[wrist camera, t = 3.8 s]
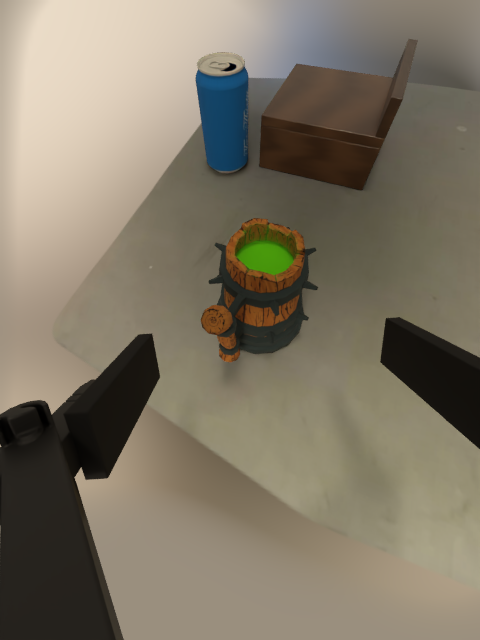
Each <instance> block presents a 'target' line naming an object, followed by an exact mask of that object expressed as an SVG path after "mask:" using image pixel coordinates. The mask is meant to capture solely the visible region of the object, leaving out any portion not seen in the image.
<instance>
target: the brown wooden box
mask: <svg viewBox="0 0 480 640" xmlns="http://www.w3.org/2000/svg"><path fill="white" fill-rule="evenodd" d="M417 42H418V41H417V40H412V39H409V40H408V42H407V44H406V47H405V49H404V52H403V54H402V57H401V59H400V62H399V64H398V67H397V69H396V72H395V74H394V77H393V78H390V77H383V76H377V75H370V74H363V73H356V72H349V71H342V70H335V69H329V68H322V67H315V66H308V65H302V64H296V65H295V67H294V68H293V70H292V71H291V73H290V74H289V76H288V77H287V79H286V80H285V82H284V83H283V85H282V86H281V88H280V89H279V90H278V92H277V93H276V95H275V96H274V98H273V99H272V101H271V102H270V104H269V105H268V107H267V108H266V110H265V111H264V113H263V114H262V119H261V141H260V164H259V166H260V167H264V168H268V169H273V170H277V171H281V172H286V173H290V174H294V175H299V176H303V177H307V178H312V179H316V180H320V181H325V182H329V183H333V184H338V185H342V186H346V187H351V188H355V189H359V190H362V189H363V186H364V184H365V182H366V180H367V178H368V175H369V173H370V171H371V169H372V166H373V164H374V162H375V160H376V158H377V155H378V153H379V151H380V148H381V146H382V144H383V142H384V140H385V138H386V135H387V133H388V131H389V129H390V126H391V124H392V122H393V120H394V117H395V115H396V113H397V111H398V109H399V106H400V104H401V102H402V100H403V96H404V92H405V88H406V85H407V80H408V77H409V73H410V69H411V65H412V61H413V57H414V53H415V50H416V45H417Z"/></svg>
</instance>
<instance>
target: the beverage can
mask: <svg viewBox="0 0 480 640" xmlns="http://www.w3.org/2000/svg"><path fill="white" fill-rule="evenodd" d="M244 65H245V61H244V59H243V58H242V57H241V56H239V55H237V54H233V53H225V52H224V53H223V52H222V53H213V54H209V55H206V56H204V57H202V58H201V59H200V60H199V61H198V63H197V66H198V71H197V74H196V86H197V93H198V100H199V107H200V114H201V121H202V129H203V136H204V143H205V150H206V157H207V163H208V164H209V166H210V167H211V168H213V169H215V170H216V171H218V172H221V173H233V172H236V171H238V170H239V169H241V168H242V167H243V166H244V165H245V164H246V163H247V161H248V73H247V70H246V69H245V67H244Z"/></svg>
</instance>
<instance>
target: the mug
mask: <svg viewBox="0 0 480 640" xmlns="http://www.w3.org/2000/svg"><path fill="white" fill-rule="evenodd" d="M215 246H216V247H217V248H218V249H220V250H221V251H222V254H221V261H220V268H219V275H218V276H217V277H216V278H214V279H211V280H209V284H215V283H223V284H222V290H221V296H220V299H219V301H218V303H217V305H212V306H210V307H209V308H207V309H206V310H205V311H204V313H203V315H202V318H201V323H202V327H203V328H204V329H205V330H206V331H207V332H208V333H209V334H215V335H217V338H218V340H219V342H220V344H219V347H220V349H219V355H220V357H221V358H222V359H223V360H224V361H226V362H233V361H235V360H237V359H238V357H239V355H240V349H241V350H244V351H247V352H251V353H254V354H259V353H273V352H275V351H277V350H279V349H281V348H283V347H285V346H287V345H289V343H290V342H291V341H292V340H293V339H294V337H295V336H296V335H297V334H298V333H299V330H300V327H301V324H302V320H308V318H309V317H307V316H305V315H304V312H303V307H302V289H303V288H307V289H313V290H317V288H318V287H317V286H315V285H313V284H312V283H310V282H308V281H307V280H308V273H309V270H308V255H310V254H311V253H313V252H315V251H316V248H311V249H306V250H305V246H304V240H303V237H302V236H301V235H300V234H299V233H298V232H297V231H296V230H294V231H291V230H290V228H289V227H287V228H286V227H284V226H282V225H277V224H273V223H268V219H259V218H253V219H251V220H249V221H247V222H245V223H242V227H241V229H240V230H239V231H237V232H236V233H235V234H234V235H233V236H232V237H231V238H230V241H229V243H228V245H227V246H225V245H222V244H218V243H216V244H215Z"/></svg>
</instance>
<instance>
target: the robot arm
mask: <svg viewBox="0 0 480 640" xmlns="http://www.w3.org/2000/svg"><path fill="white" fill-rule="evenodd" d="M380 362H381V363H382V364H383V365H384V366H385V367H386V368H388V369H389V370H390V371H391V372H392V373H393V374H394V375H396V376H397V377H398V378H399V379H400V380H401V381H402V382H404V383H405V384H406V385H407V386H408V387H409V388H410V389H412V390H413V391H414V392H415V393H416V394H417V395H418V396H420V397H421V398H422V399H423V400H424V401H425V402H426V403H428V404H429V405H430V406H431V407H432V408H433V409H434V410H436V411H437V412H438V413H439V414H440V415H441V416H442V417H444V418H445V419H446V420H447V421H448V422H449V423H450V424H452V425H453V426H454V427H455V428H456V429H457V430H458V431H460V432H461V433H462V434H463V435H464V436H465V437H466V438H468V439H469V440H470V441H471V442H472V443H473V444H474V445H476V446H477V447H478V448H479V449H480V358H479V357H477V356H475V355H473V354H471V353H469V352H467V351H465V350H463V349H461V348H459V347H457V346H455V345H453V344H451V343H449V342H447V341H445V340H444V339H442V338H440V337H438V336H436V335H434V334H432V333H430V332H428V331H426V330H424V329H422V328H420V327H418V326H416V325H414V324H412V323H410V322H408V321H406V320H404V319H402V318H400V317H398V318H386V322H385V330H384V337H383V345H382V353H381V361H380ZM159 378H160V374H159V368H158V363H157V358H156V352H155V347H154V341H153V336H152V334H140V335H138V336H137V337H136V338H135V339H134V340H133V341H132V342H131V343H130V344H129V345H128V346H127V347H126V348H125V349H124V350H123V351H122V352H121V353H120V355H119V356H118V357H117V358H116V359H115V360H114V361H113V362H112V363H111V364H110V365H109V366H108V367H107V368H106V369H105V370H104V371H103V373H102V374H101V375H100V376H99V377H98V378H97V379H96V380H90V381H89V382H87V383H85V384H84V385H82V386H80V387H79V389H77V390H76V391H75V392H74V393H73V395H72V396H70V397H69V398H68V399H67V400H66V402H64V403H63V404H62V405H61V406H60V407H59V408H58V409H57V410H56V411H55V412H54V413H53V414H52V415H51V412H50V409H49V406H48V404H47V403H46V402H45V401H41V400H37V401H30V402H26V403H23V404H20V405H17V406H15V407H13V408H10V409H8V410H7V411H5V412H4V413H2V414H0V445H1V447H0V525H1V533H0V640H124V639H123V636H122V633H121V630H120V626H119V623H118V620H117V616H116V613H115V610H114V606H113V603H112V600H111V596H110V593H109V590H108V586H107V583H106V580H105V576H104V573H103V570H102V567H101V564H100V560H99V557H98V553H97V550H96V547H95V543H94V541H93V537H92V533H91V530H90V527H89V523H88V520H87V517H86V514H85V510H84V507H83V504H82V500H81V497H80V494H79V490H78V487H77V484H76V481H75V478H74V477H75V476H76V474H77V473H78V471H79V469H80V468H81V467H82V470H83V473H84V476H85V479H86V480H88V479H104V478H108V477H109V475H110V473H111V471H112V469H113V467H114V465H115V463H116V461H117V459H118V457H119V455H120V453H121V452H122V450H123V448H124V446H125V444H126V442H127V440H128V438H129V436H130V434H131V432H132V430H133V428H134V426H135V424H136V422H137V421H138V419H139V417H140V415H141V413H142V411H143V409H144V407H145V405H146V403H147V401H148V399H149V397H150V395H151V393H152V391H153V390H154V388H155V386H156V384H157V382H158V380H159Z"/></svg>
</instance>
